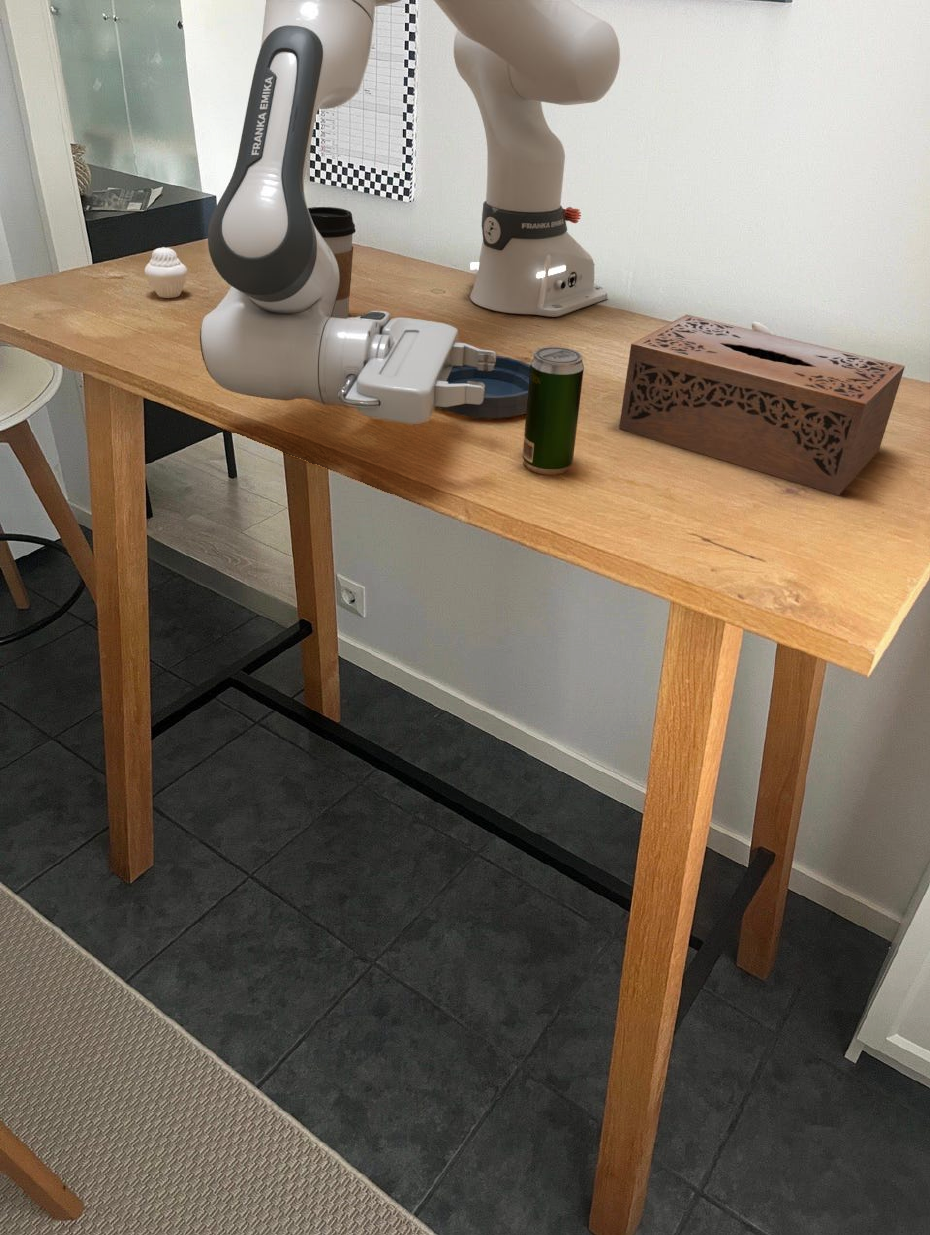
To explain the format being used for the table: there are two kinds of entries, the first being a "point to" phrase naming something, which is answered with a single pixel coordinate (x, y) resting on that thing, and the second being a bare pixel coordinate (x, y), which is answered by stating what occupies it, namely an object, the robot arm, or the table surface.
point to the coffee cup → (337, 248)
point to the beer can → (552, 409)
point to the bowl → (494, 389)
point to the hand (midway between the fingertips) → (489, 376)
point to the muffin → (166, 273)
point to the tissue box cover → (760, 400)
